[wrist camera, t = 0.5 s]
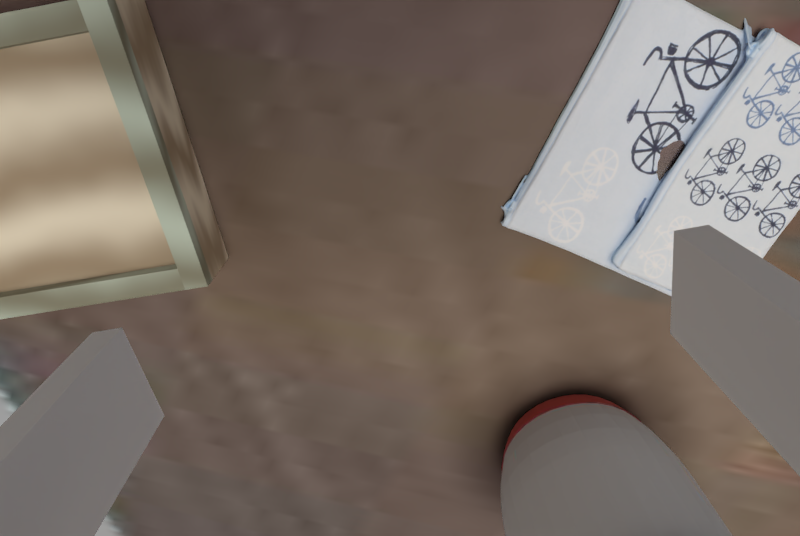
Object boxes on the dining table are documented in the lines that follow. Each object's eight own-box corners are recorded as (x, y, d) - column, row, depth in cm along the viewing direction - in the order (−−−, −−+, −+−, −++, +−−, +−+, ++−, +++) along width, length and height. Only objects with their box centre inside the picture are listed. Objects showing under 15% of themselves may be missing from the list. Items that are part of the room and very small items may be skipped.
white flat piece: (704, 310, 43) (719, 323, 42) (490, 217, 40) (495, 226, 38) (875, 90, 36) (902, 93, 34) (632, -47, 33) (648, -52, 31)
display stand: (-121, 50, 34) (-201, 52, 30) (144, -1, 33) (104, -7, 28) (8, 293, 41) (-40, 325, 37) (228, 257, 40) (207, 286, 36)
